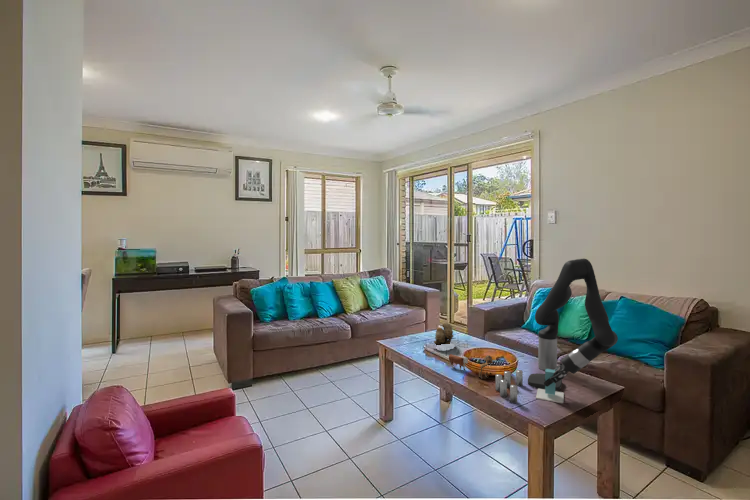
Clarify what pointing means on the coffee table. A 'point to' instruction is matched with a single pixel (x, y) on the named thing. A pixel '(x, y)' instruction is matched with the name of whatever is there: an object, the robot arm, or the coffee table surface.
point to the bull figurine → (458, 360)
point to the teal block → (551, 387)
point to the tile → (550, 396)
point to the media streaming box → (541, 381)
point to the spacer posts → (509, 384)
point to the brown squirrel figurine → (444, 334)
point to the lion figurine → (488, 360)
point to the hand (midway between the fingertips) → (545, 382)
